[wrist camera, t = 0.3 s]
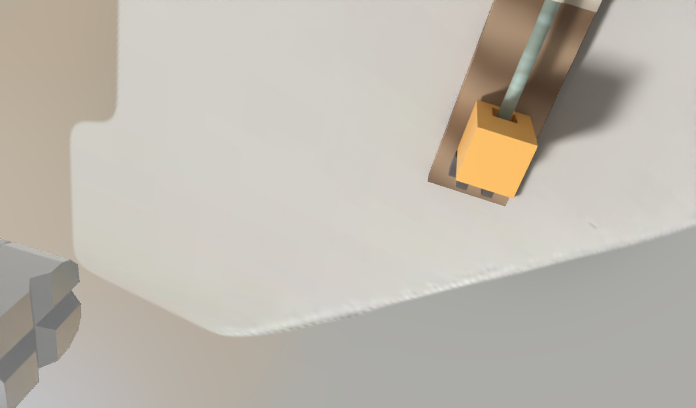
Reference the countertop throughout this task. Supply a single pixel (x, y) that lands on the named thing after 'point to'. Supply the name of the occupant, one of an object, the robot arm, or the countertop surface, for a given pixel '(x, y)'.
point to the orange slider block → (495, 150)
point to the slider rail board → (514, 72)
